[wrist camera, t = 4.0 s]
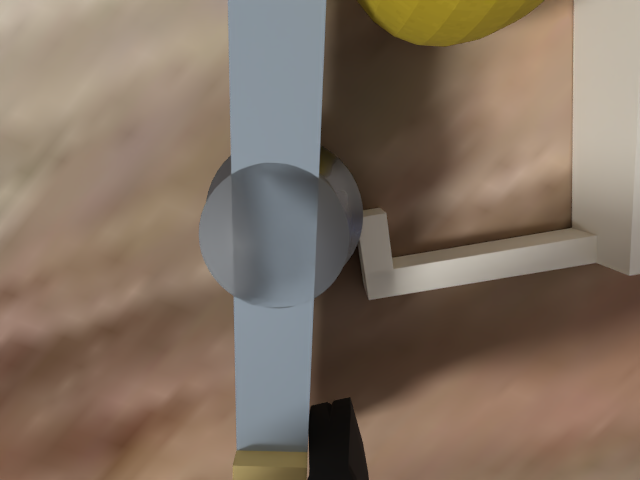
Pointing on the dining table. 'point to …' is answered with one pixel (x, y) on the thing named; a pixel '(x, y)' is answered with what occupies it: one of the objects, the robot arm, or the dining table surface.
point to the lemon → (445, 18)
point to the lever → (274, 227)
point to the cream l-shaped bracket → (587, 178)
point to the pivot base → (341, 184)
